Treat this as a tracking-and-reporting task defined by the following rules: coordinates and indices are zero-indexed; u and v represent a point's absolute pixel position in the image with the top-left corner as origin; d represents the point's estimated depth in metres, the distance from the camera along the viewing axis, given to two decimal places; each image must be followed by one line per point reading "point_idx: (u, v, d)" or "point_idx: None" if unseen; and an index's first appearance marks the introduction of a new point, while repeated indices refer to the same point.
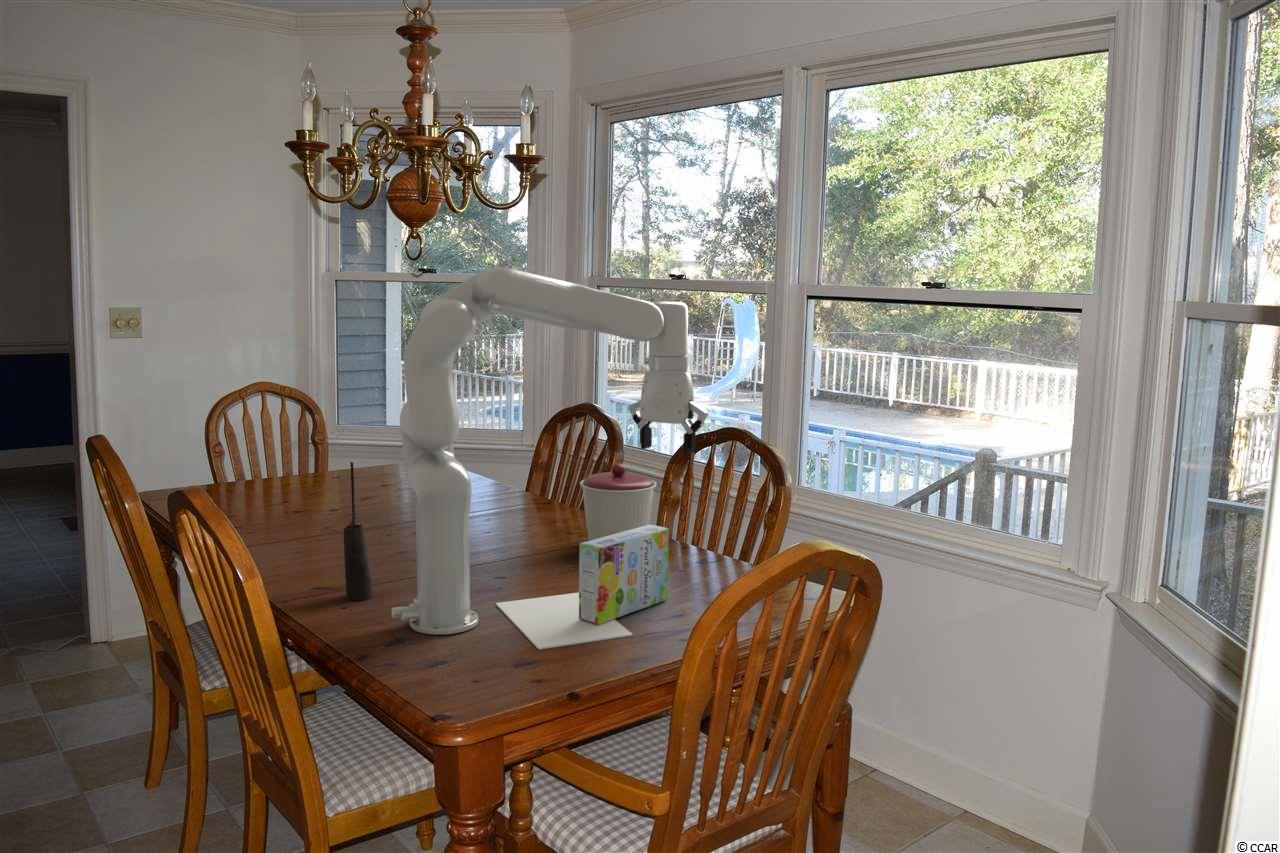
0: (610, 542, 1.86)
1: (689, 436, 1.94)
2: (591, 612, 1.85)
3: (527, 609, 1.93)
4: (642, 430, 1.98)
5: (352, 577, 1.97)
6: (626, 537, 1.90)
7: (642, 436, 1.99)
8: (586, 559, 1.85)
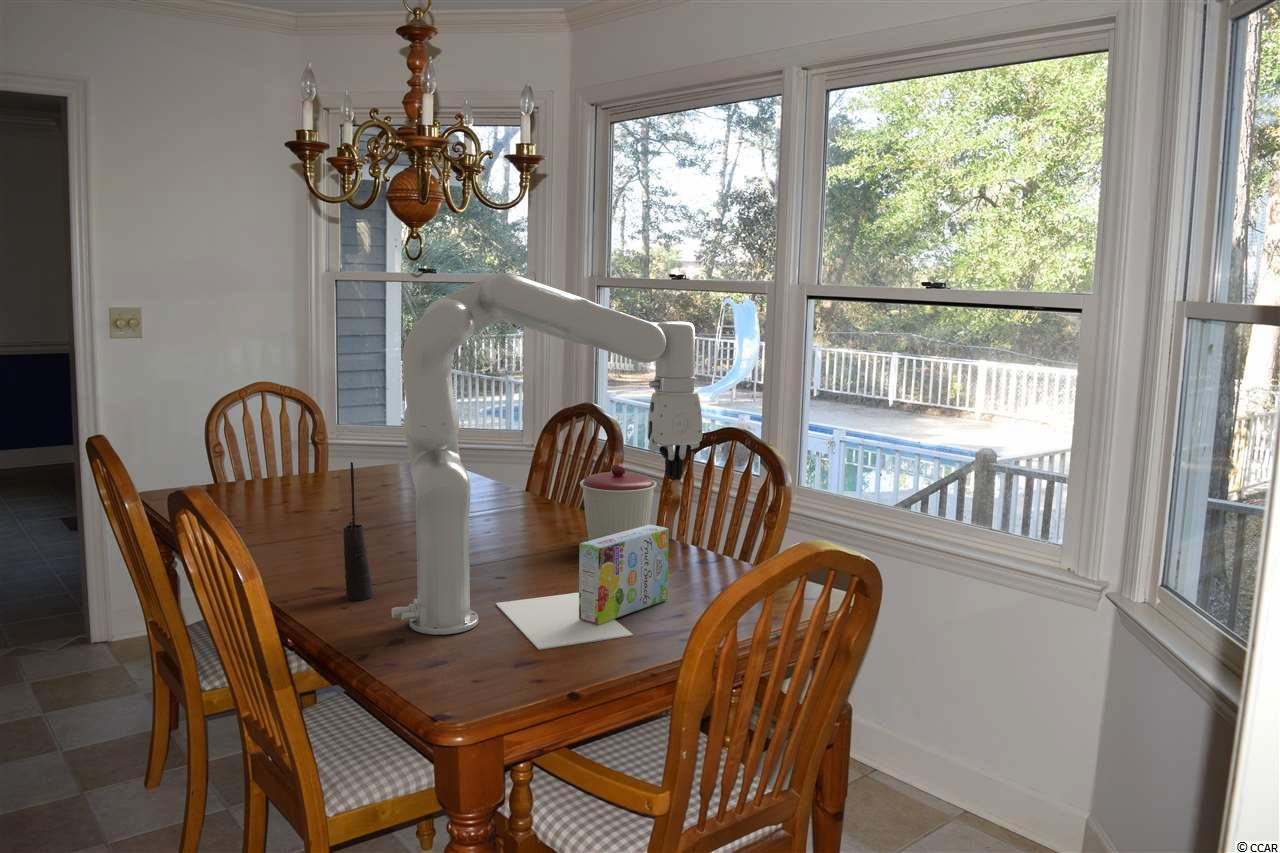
0: (610, 542, 1.86)
1: None
2: (591, 612, 1.85)
3: (527, 609, 1.93)
4: (675, 461, 1.92)
5: (352, 577, 1.97)
6: (626, 537, 1.90)
7: (675, 467, 1.92)
8: (586, 559, 1.85)
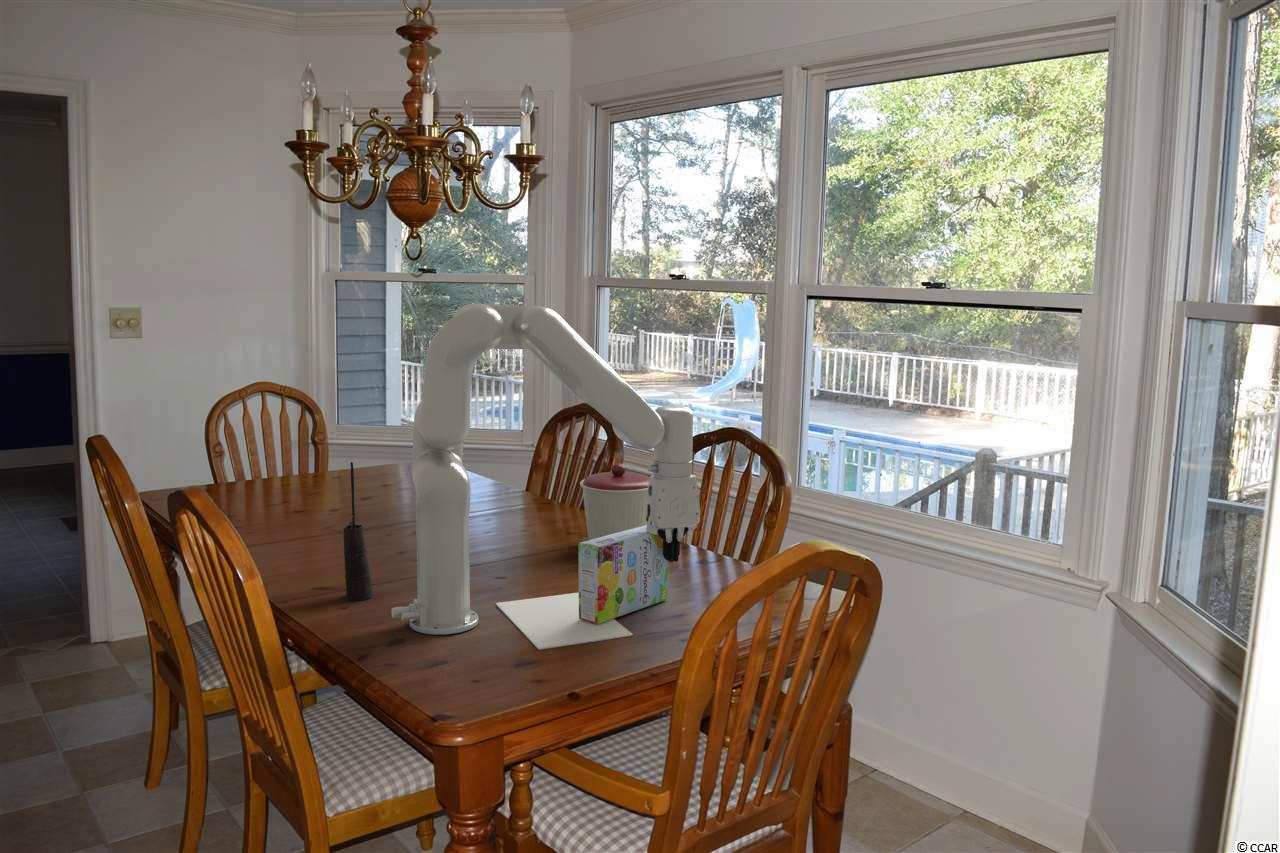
0: (609, 542, 1.86)
1: None
2: (590, 612, 1.85)
3: (527, 609, 1.93)
4: (672, 543, 1.95)
5: (352, 577, 1.97)
6: (625, 537, 1.90)
7: (672, 549, 1.95)
8: (585, 558, 1.85)
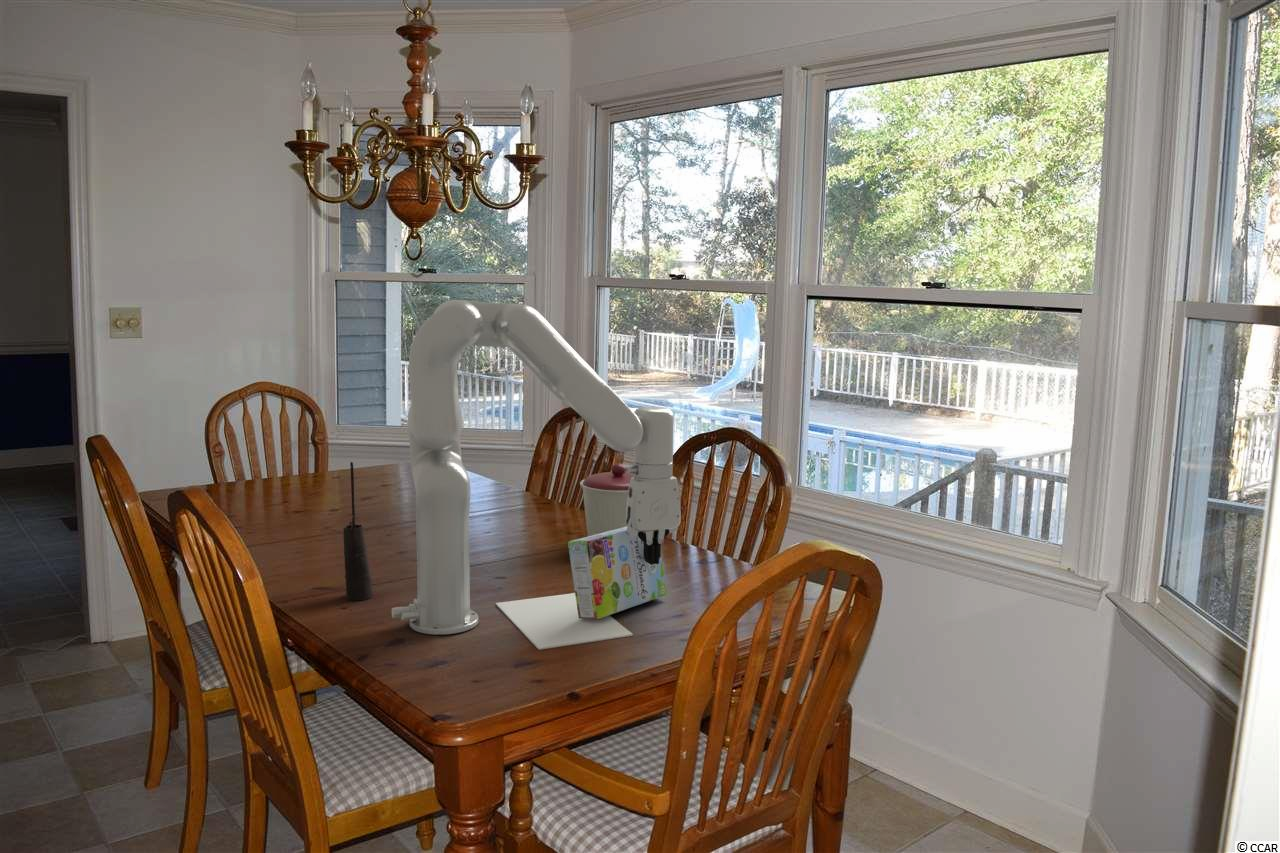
0: (598, 536, 1.88)
1: (658, 546, 1.94)
2: (589, 608, 1.85)
3: (527, 609, 1.93)
4: (653, 546, 1.93)
5: (352, 577, 1.97)
6: (614, 532, 1.92)
7: (653, 552, 1.93)
8: (576, 555, 1.86)
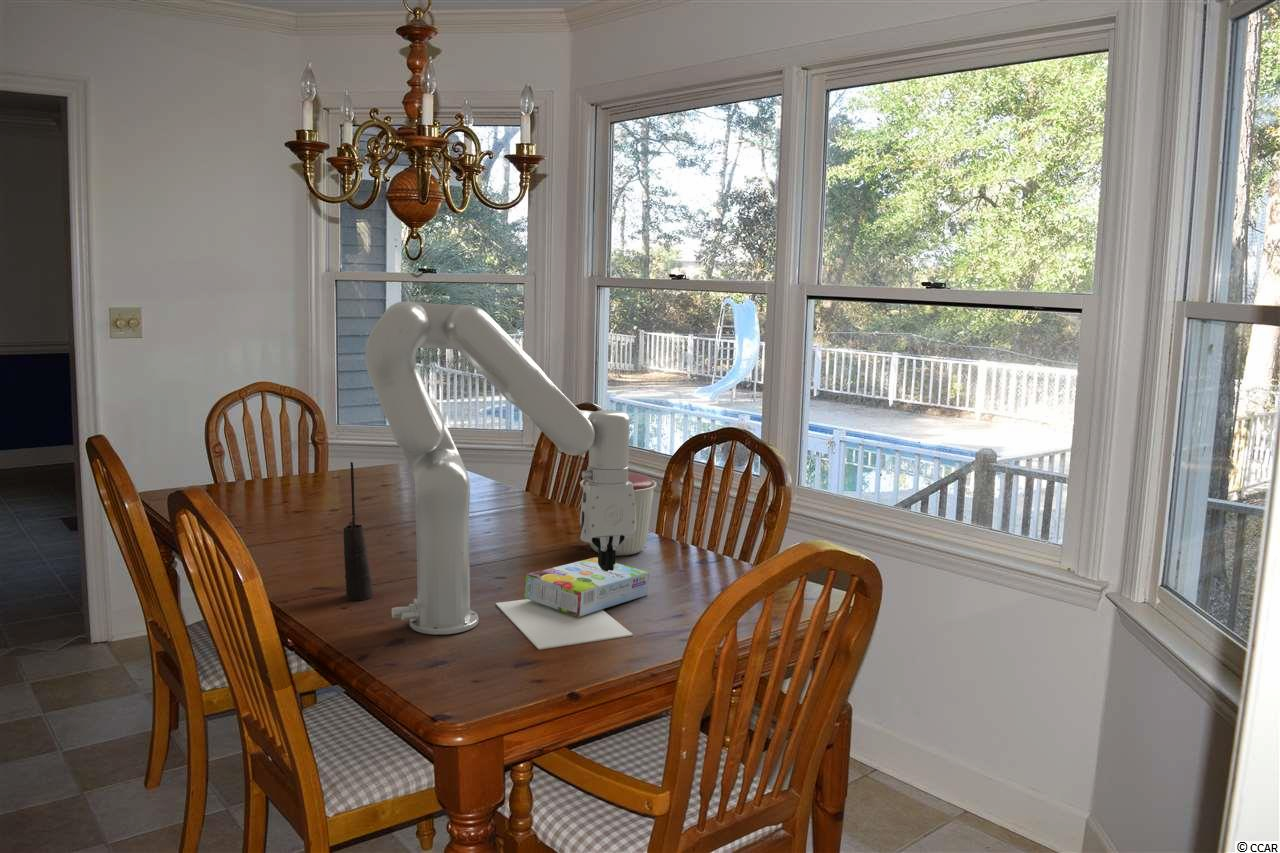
0: None
1: None
2: (571, 598, 1.88)
3: (527, 609, 1.93)
4: (607, 552, 1.89)
5: (352, 577, 1.97)
6: None
7: (607, 558, 1.89)
8: (533, 592, 1.95)
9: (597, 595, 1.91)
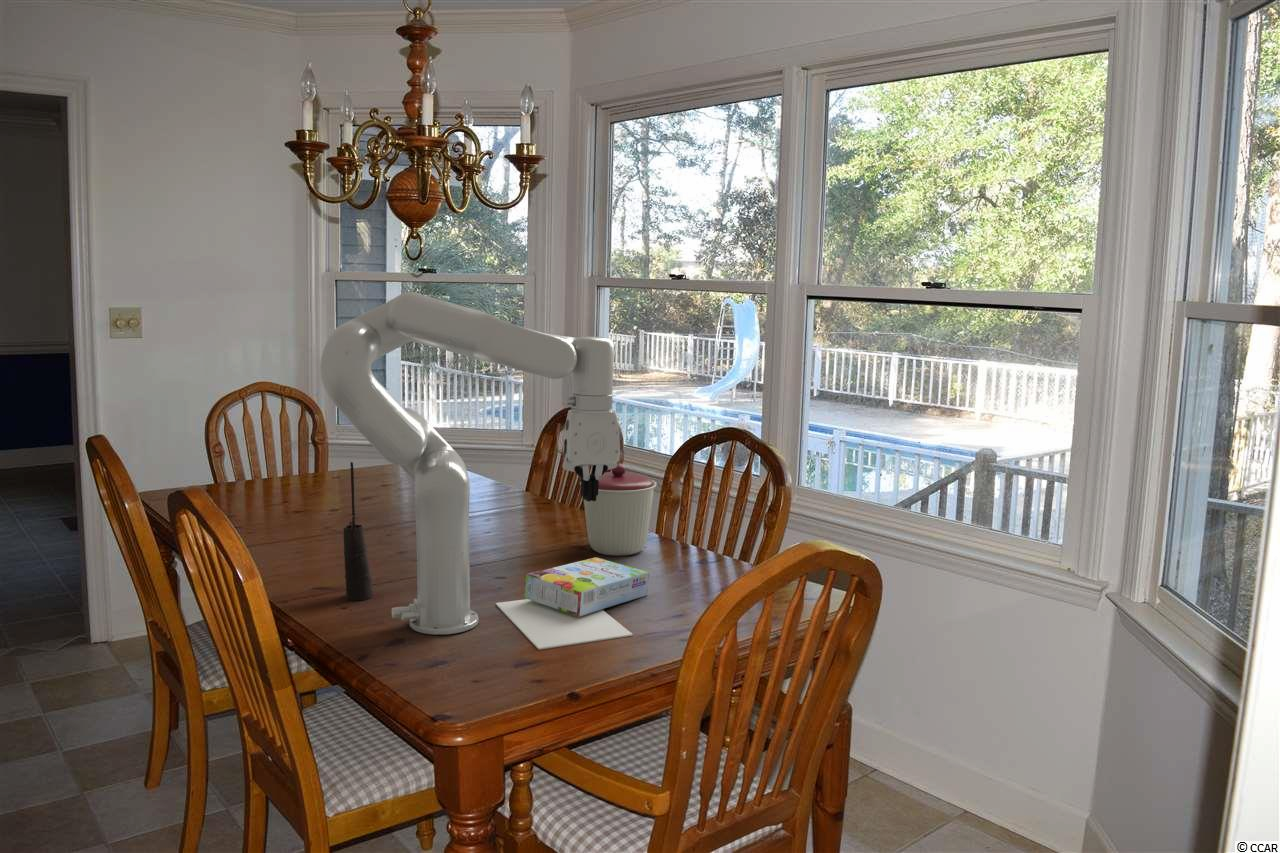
0: None
1: None
2: (571, 598, 1.88)
3: (527, 609, 1.93)
4: (590, 481, 1.85)
5: (352, 577, 1.97)
6: None
7: (590, 488, 1.86)
8: (533, 592, 1.95)
9: (597, 594, 1.91)
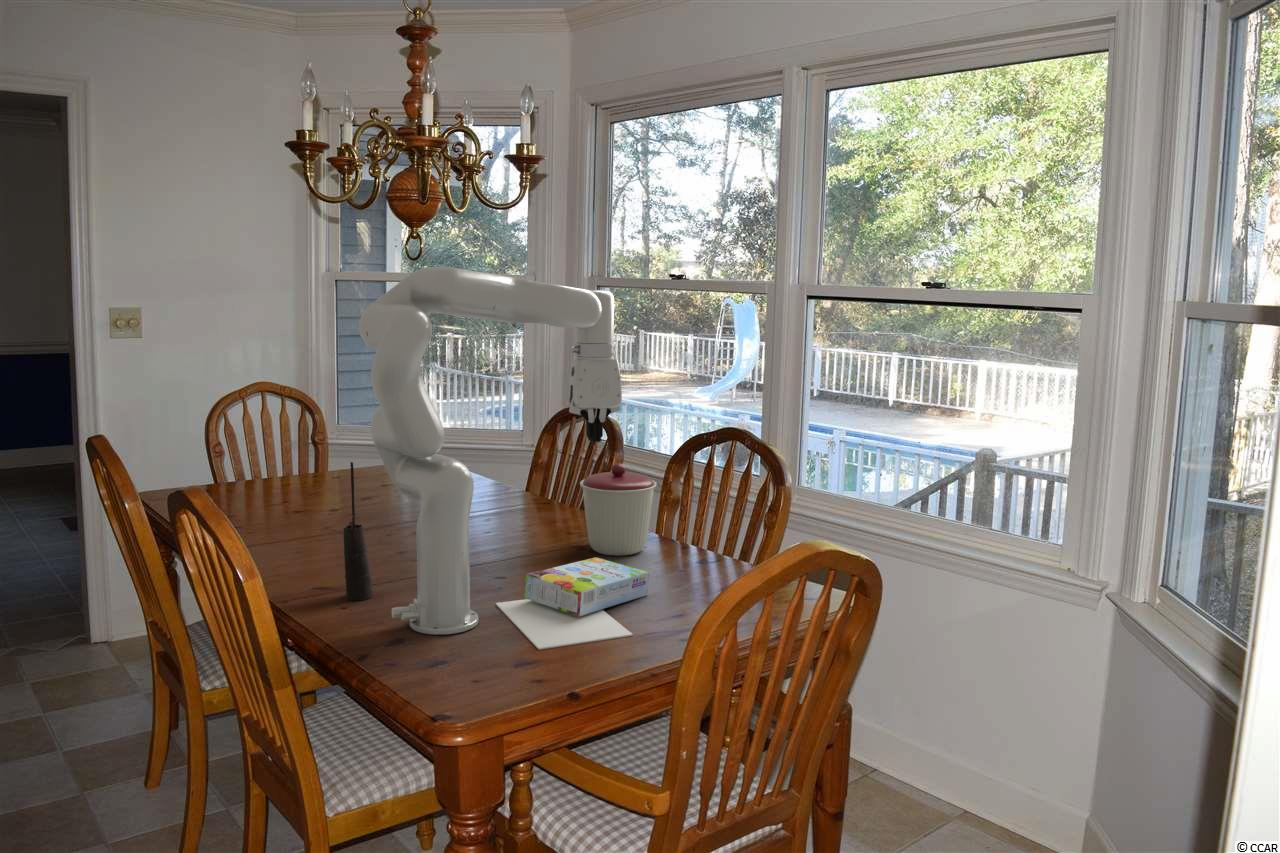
0: None
1: None
2: (571, 598, 1.88)
3: (527, 609, 1.93)
4: (595, 424, 2.01)
5: (352, 577, 1.97)
6: None
7: (595, 429, 2.02)
8: (533, 592, 1.95)
9: (597, 594, 1.91)
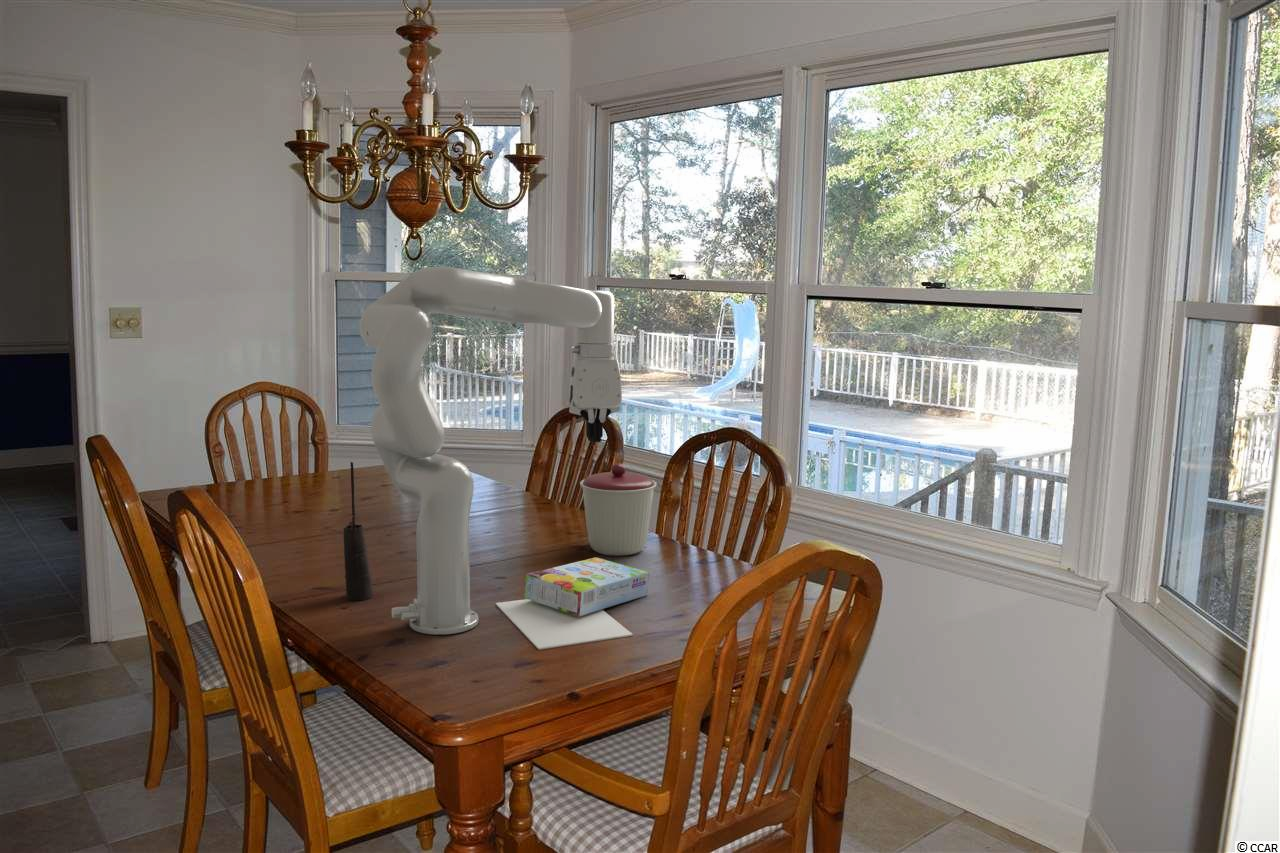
0: None
1: None
2: (571, 598, 1.88)
3: (527, 609, 1.93)
4: (595, 424, 2.01)
5: (352, 577, 1.97)
6: None
7: (595, 430, 2.02)
8: (533, 592, 1.95)
9: (597, 594, 1.91)
